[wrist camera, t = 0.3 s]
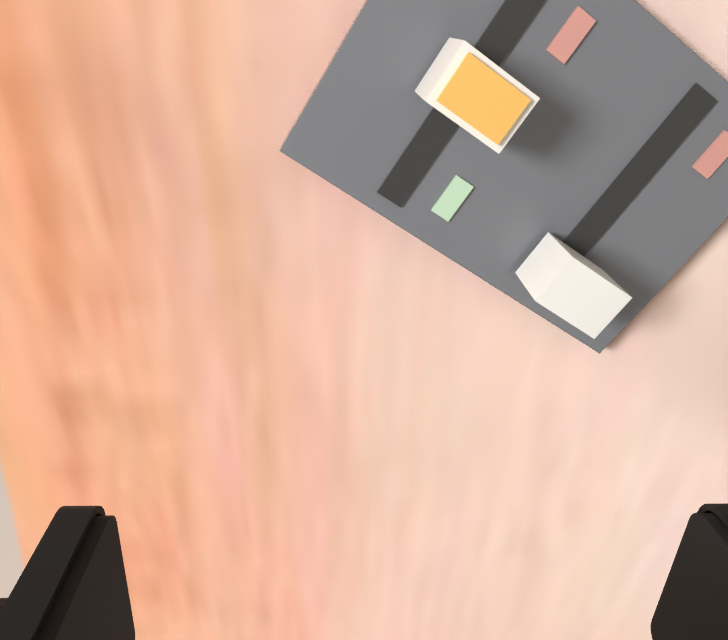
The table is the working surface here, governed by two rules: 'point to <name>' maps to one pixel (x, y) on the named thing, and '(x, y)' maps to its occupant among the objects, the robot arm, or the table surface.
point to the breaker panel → (530, 140)
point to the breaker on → (571, 286)
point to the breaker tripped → (476, 94)
